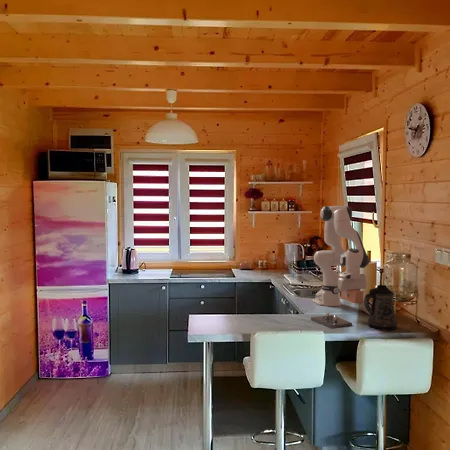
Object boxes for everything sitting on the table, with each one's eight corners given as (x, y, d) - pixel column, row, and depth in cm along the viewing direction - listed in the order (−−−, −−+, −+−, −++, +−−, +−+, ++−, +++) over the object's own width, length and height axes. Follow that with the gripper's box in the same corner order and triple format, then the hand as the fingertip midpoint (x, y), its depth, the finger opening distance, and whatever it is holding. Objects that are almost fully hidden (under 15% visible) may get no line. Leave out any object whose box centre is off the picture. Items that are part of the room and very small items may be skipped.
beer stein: (402, 327, 276) (403, 286, 275) (385, 333, 263) (386, 290, 262) (376, 322, 289) (378, 282, 287) (359, 327, 276) (360, 285, 274)
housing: (341, 298, 300) (341, 287, 299) (348, 297, 302) (349, 287, 301) (355, 303, 287) (355, 292, 286) (363, 302, 289) (363, 291, 289)
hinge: (380, 316, 303) (375, 302, 302) (373, 319, 302) (369, 304, 301) (369, 310, 319) (365, 296, 318) (363, 312, 319) (359, 299, 318)
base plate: (310, 319, 292) (311, 311, 292) (332, 317, 298) (332, 309, 298) (330, 328, 274) (330, 319, 273) (352, 325, 280) (352, 317, 280)
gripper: (362, 272, 300) (361, 294, 301) (336, 274, 292) (335, 296, 293) (369, 274, 294) (368, 296, 295) (342, 276, 286) (341, 298, 287)
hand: (351, 296), depth 294 cm, fingers closed on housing, 6 cm apart
